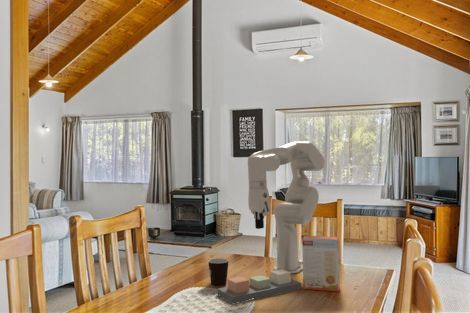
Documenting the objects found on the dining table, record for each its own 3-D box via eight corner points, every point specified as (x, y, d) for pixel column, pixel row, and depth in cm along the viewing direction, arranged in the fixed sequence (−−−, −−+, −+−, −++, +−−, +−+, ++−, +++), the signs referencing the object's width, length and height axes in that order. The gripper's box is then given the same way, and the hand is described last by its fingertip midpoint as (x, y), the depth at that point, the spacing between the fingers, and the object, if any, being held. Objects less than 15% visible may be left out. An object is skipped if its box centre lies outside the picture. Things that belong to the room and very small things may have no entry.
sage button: (262, 287, 177) (262, 275, 177) (270, 291, 171) (270, 278, 171) (249, 290, 174) (249, 277, 174) (258, 294, 168) (257, 281, 168)
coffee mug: (226, 287, 178) (226, 263, 178) (206, 286, 180) (205, 262, 180) (232, 279, 190) (232, 256, 190) (213, 278, 191) (212, 256, 191)
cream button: (282, 280, 182) (281, 268, 182) (290, 284, 177) (290, 272, 176) (270, 283, 179) (270, 271, 179) (278, 287, 173) (278, 274, 173)
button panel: (283, 281, 186) (283, 275, 186) (301, 288, 175) (301, 282, 175) (217, 295, 170) (217, 288, 170) (232, 304, 159) (232, 297, 159)
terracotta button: (241, 289, 172) (240, 276, 172) (249, 293, 166) (249, 280, 166) (227, 291, 169) (227, 279, 168) (235, 296, 163) (235, 282, 163)
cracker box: (339, 287, 176) (339, 236, 176) (338, 292, 170) (337, 239, 170) (305, 284, 181) (304, 234, 180) (302, 289, 175) (302, 237, 175)
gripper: (275, 185, 178) (277, 229, 179) (254, 182, 191) (256, 224, 192) (260, 187, 174) (262, 232, 175) (240, 184, 187) (242, 226, 188)
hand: (259, 228), depth 184 cm, fingers closed
